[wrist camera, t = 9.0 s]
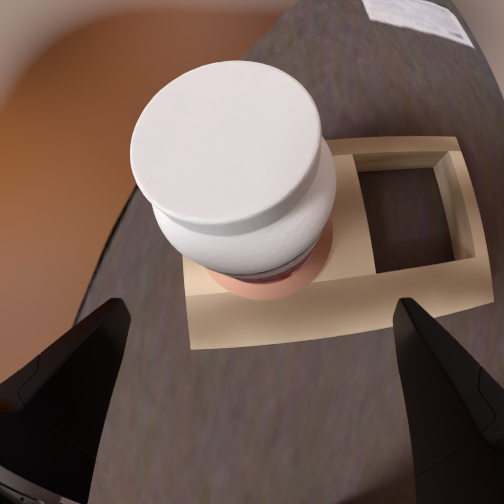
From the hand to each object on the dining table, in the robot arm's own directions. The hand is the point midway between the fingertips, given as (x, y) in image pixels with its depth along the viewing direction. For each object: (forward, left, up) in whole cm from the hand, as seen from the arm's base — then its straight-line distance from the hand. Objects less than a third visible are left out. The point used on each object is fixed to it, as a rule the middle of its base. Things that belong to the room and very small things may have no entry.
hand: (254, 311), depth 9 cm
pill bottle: (+4, 0, -8) cm, 9 cm away
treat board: (+4, -5, -11) cm, 13 cm away
